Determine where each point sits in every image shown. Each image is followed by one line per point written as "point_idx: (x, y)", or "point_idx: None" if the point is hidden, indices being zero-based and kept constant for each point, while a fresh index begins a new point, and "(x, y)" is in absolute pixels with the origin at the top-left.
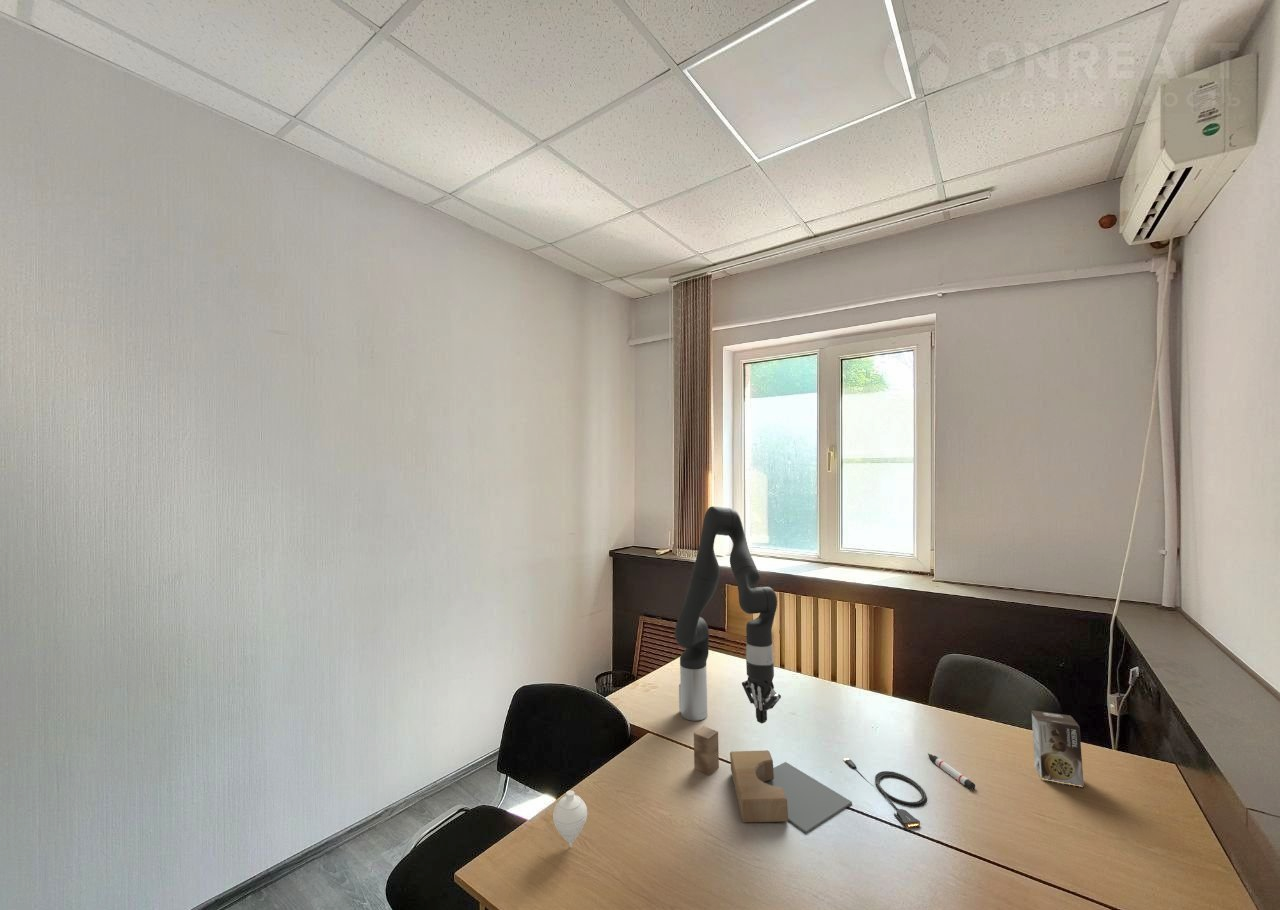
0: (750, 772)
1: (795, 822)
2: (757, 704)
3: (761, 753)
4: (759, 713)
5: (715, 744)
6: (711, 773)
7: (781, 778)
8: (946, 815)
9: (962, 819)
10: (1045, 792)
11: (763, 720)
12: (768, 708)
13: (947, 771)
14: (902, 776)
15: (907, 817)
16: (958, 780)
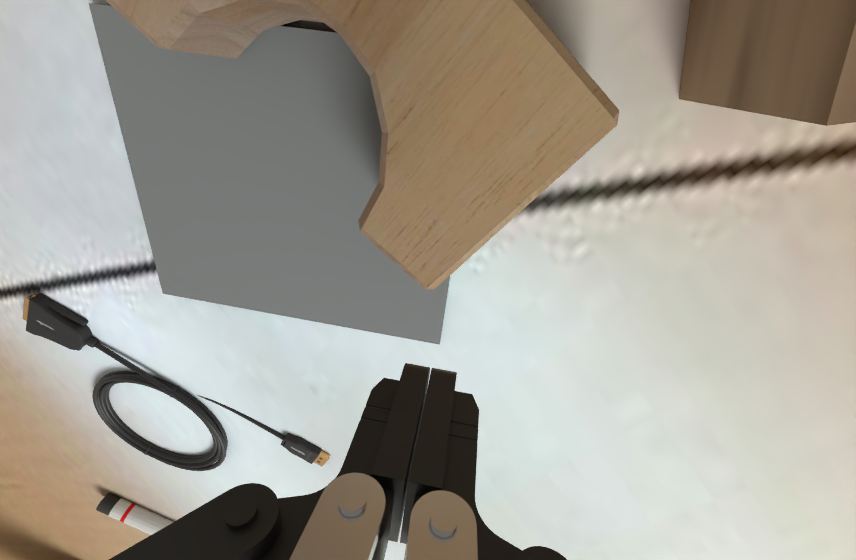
0: (362, 9)
1: None
2: (406, 551)
3: (437, 239)
4: (399, 437)
5: (772, 64)
6: (690, 5)
7: None
8: (54, 394)
9: (34, 400)
10: (62, 539)
11: (373, 390)
12: (175, 526)
13: (162, 522)
14: (189, 464)
15: (47, 326)
16: (135, 507)
